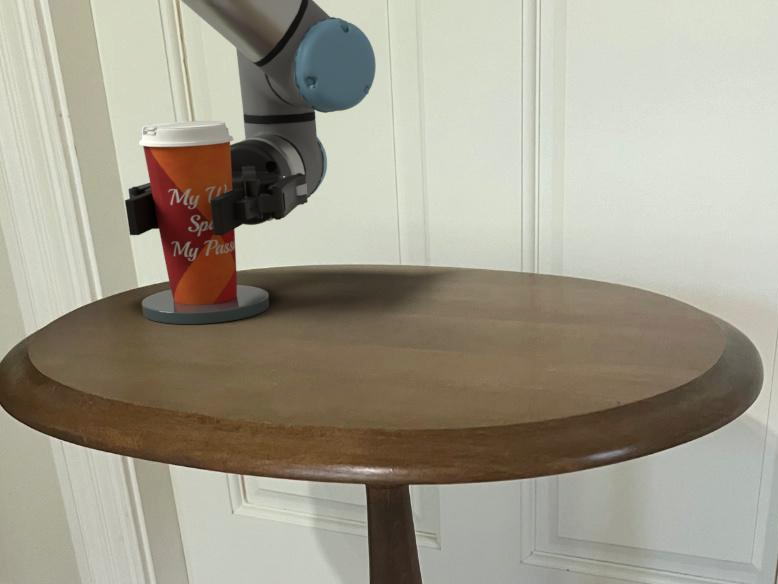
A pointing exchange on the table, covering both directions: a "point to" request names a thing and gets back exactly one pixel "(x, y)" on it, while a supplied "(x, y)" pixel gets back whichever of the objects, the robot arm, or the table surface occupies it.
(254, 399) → the table surface
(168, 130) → the paper cup
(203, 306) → the coaster
